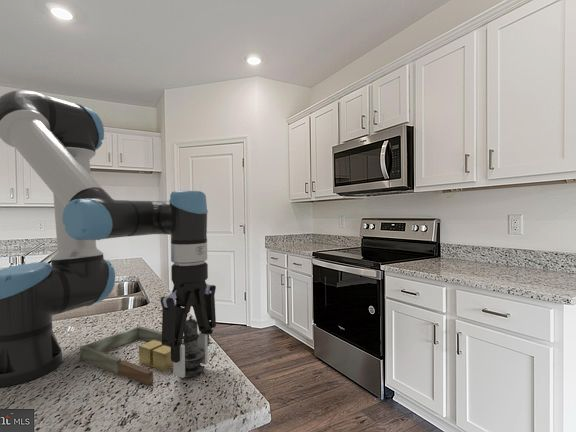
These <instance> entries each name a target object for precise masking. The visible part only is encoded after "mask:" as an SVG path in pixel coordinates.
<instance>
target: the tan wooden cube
mask: <svg viewBox="0 0 576 432" xmlns="http://www.w3.org/2000/svg"><path fill="white" fill-rule="evenodd" d="M152 367H153V368H154V369H156V370H159V371H162V372H166V371H169V370H170V368H171V369H173V368H172V367H173V362H172V361H171V347H168V346H165V345H164V346H161V347H159V348H157V349H154V350H153V365H152Z"/></svg>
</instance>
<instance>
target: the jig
mask: <svg viewBox="0 0 576 432" xmlns="http://www.w3.org/2000/svg"><path fill="white" fill-rule="evenodd" d="M136 340H143V341H147V342H150V341H152V340H156V341H159V342H162V331H160V330H156V329H153V328H148V327H145V326H141V325H139V326H136V327H134V328H131V329H127V330H125V331H122V332H119V333H116V334H113V335H110V336H107V337H105V338H101V339H98V340H96V341H93V342H90V343H87V344H84V345H82V346H79V356H80V360H81V361H84V362H86V363H88V364H91V365H93V366H96V367H99V368H101V369H103V370H106V371H108V372H110V373H113V374H115V375H121V376H124V377H126V378H128V379H130V380H133V381H134V382H137V381H138V383H140V384H143V385H145V386H147V385H149V386H150V384H151V385H153V384H154V371H153V370H151V369H148V368H145V367H143V366H140V365H138V364H135V363H132V362H129V361H126V360H122V358H120V357H118V356H117V357H116V356H115V355H111V354H109V353H107V351H110V350H112V349H115V348H118V347H121V346H123V345H125V344H128V343H130V342H134V341H136ZM175 340H176V339H175ZM182 345H184V340H183V339H182ZM105 352H106V353H105ZM152 383H153V384H152Z"/></svg>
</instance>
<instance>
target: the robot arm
mask: <svg viewBox="0 0 576 432" xmlns="http://www.w3.org/2000/svg"><path fill="white" fill-rule="evenodd" d="M104 138H105V129H104V123H103V121H102V119H101V117H100V116H99V114H97V113H96V112H95V111H94V110H93V109H91V108H89V107H86V106H83V105H82V104H79V103H76V102H70V101H67V100H64V99H61V98H56V97H54V96H53V97H52V96H50V95H46V94H43V93H40V92H37V91H33V90H25V89H21V90H19V89H18V90H12V91H9V92H6V93H4V94H3V95H0V139H1V140H2V142H3V143H5V144H7V145H8V146H10V147H13V148H15V149H16V150H17V152H18V153H20V155H21V156H22V157H23V159H24V160H25V161H26V162H27V163H28V165H30V167H31V168H32V169H33V171H34V172H35V173H36V174H37V175H38V176H39V178H40V179H41V181H43V182H44V184H45V186H47V187H48V188H49V190H50V191H51V192H52V193H53V206H54V220H55V232H56V233H55V234H56V248H57V250H56V253H55V254H54V255H53V256H52V257H51V258H50V263H48V262H30V263H23V264H18V265H13V266H10V267H5V268H1V269H0V388H3V387H9V386H14V385H18V384H22V383H26V382H29V381H33V380H35V379H38V378H40V377H43V376H45V375H47V374H49V373H50V372H53V371H54V370H56V369H57V368H58V367H59V366H60V365H61V364H62V363H63V351H62V347H60V344H59V342H58V340H57V337H56V335H55V333H54V330H53V316H56V315H59V314H62V313H66V312H70V311H73V310H77V309H80V308H84V307H90V306H93V305H95V304H97V303H100V302H102V301H104V300H106V299H107V298H108V297H109V295H111V294H112V291H113V289H114V287H115V283H116V272H115V268H114V266H112V263H111V262H110V261H109V260H108V259H105V257H104V253H103V252H102V251H101V250H99V249H98V248H97V241H100V240H105V239H106V240H107V239H115V238H116V239H117V238H126V237H138V236H149V235H170V262H172V265H171V268H170V269H171V270H170V271H171V275H170V276H171V278H170V279H171V282H172V284H173V287H172V291H171V293H170V294H169V295H167V296H161V297H160V301H159V302H160V304H161V308H162V310H161V311H162V314H161V315H162V317H161V332H162V345H165V346H168V347H171V361H172V362H173V368H172V370H173V373H172V374H173V376H176V377H179V378H181V379H183V378H186V377H185V345H182V340H183V336H184V329H185V324H186V321H187V320H188V319H187V317H188V314H189V313H190V312H191V308H193V312H194V317H195V320H196V321H197V329H198V331H199V332H197V334H198V335H199V338H198V347H199V349H202V350H204V351H205V355H204V356H203V360H202V362H201V365H204V366H205V365H207V364H208V363H209V350H208V349H209V348H208V347H209V345H210V335H212V334H213V332H214V329H215V328H216V325H217V321H216V319H217V317H216V300H215V293H216V289H217V286H216V285H214V284H210V283H209V284H208V283H207V282H206V281H207V280H208V277H209V275H208V273H209V272H208V271H209V269H208V267H209V266H208V263H207V262H206V261H208V238H207V237H208V236H207V233H208V231H207V230H208V213H209V211H208V206H207V196H206V193H204V192H203V191H200V190H199V191H198V190H176V191H175V190H174V191H171V193H170V197H169V200H126V199H125V200H124V199H123V200H122V199H113V197H111V196H110V194H109V193H108V192H107V191H106V190H105V189H104V188H103V187H102V186H101V184H99V182H98V181H96V179H95V178H94V177H93V176H92V175H91V173H92V172H91V164H90V162H91V159H93V157H95V156H96V150H99V148H100V147H101V146H102V144H103V140H105V139H104ZM175 339H176V340H175Z"/></svg>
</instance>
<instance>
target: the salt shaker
mask: <svg viewBox="0 0 576 432" xmlns="http://www.w3.org/2000/svg"><path fill="white" fill-rule="evenodd" d="M197 333H198V324H197V321H196V319H193V316H192V315H189V317H188V319H186V324H185V329H184V334H183V339H182V340H184V345H185V377H184V378H186V377H187V378H188V377H189V378H190V377H195V376H197V375H200V374H202V372H203V371H204V369H205V368H204V365H203V364H202V363H201V362H202V360H203V356H204V355H205V351H204V350H202V349H199V347H198V338H199V335H198V334H197Z"/></svg>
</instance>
